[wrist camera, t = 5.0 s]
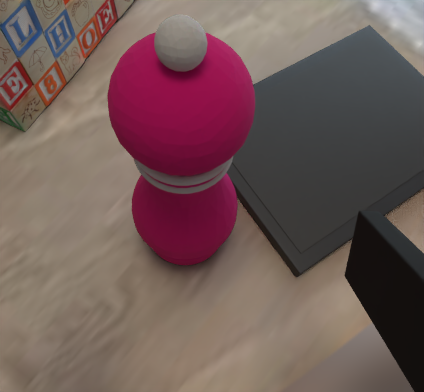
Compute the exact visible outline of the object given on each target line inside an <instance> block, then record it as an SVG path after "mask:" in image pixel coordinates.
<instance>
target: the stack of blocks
mask: <svg viewBox="0 0 424 392" xmlns="http://www.w3.org/2000/svg"><path fill="white" fill-rule="evenodd" d="M133 1H134V0H0V120H2V121H4V122H6V123H8V124H10V125H12V126H14V127H16V128H18V129H20V130H22V131H26V130H27V129H28V128H29V127H30V126H31V124H32V123H33V122H34V121H35V120H36V119H37V117H38V116H39V115H40V114H41V113H42V111H43V110H44V109H45V107H47V106H48V105H49V104H50V103H51V102H52V101H53V99H54V98H55V97H56V96H57V95H58V93H59V92H60V91H61V90H62V88H63V87H64V86H65V85H66V83H67V82H68V81H69V80H70V79H71V78H72V77H73V75H74V74H75V73H76V72H77V71H78V69H79V68H80V67H81V66H82V64H83V63H84V62H85V59H86V58H87V57H88V55H89V54H90V53H91V51H92V50H93V49H94V48H95V47H96V46H97V44H98V43H99V42H100V41H101V38H103V36H104V35H105V34H106V33H107V32H108V30H109V29H110V28H111V27H112V26H113V24H114V23H115V22H116V20H117V19H119V18H120V17H121V16H122V15H123V13H124V12H125V11H126V10H127V9H128V7H129V6H130V5H131V4H132V3H133Z"/></svg>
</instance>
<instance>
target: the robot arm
mask: <svg viewBox="0 0 424 392" xmlns="http://www.w3.org/2000/svg"><path fill="white" fill-rule="evenodd" d="M345 277H346V279H347V281H348V282H349V284H350V286H351V287H352V289H353V291H354V292H355V294H356V296H357V297H358V299H359V301H360V302H361V304H362V306H363V307H364V309H365V311H366V312H367V314H368V316H369V317H370V319H371V320H372V322H373V324H374V325H375V327H376V329H377V330H378V332H379V334H380V335H381V337H382V339H383V340H384V342H385V343H386V345H387V347H388V349H389V350H390V352H391V354H392V355H393V357H394V358H395V360H396V362H397V363H398V365H399V367H400V368H401V370H402V372H403V373H404V375H405V377H406V378H407V380H408V381H409V383H410V385H411V387H412V388H413V390H414V392H424V253H422V252H421V251H420V250H419V249H418V248H417V247H416V246H415V245H414V244H413V243H412V242H411V241H410V240H409V239H408V238H407V237H406V236H405V235H404V234H403V233H401V232H400V231H399V230H398V229H397V228H396V227H395V226H394V225H393V224H392V223H391V222H390V221H389V220H388V219H387V218H386V217H385V216H384V215H383V214H382V213H380V212H375V211H359V212H358V217H357V221H356V226H355V230H354V235H353V239H352V244H351V248H350V253H349V258H348V262H347V267H346V271H345Z"/></svg>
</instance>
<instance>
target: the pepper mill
mask: <svg viewBox="0 0 424 392" xmlns="http://www.w3.org/2000/svg"><path fill="white" fill-rule="evenodd" d="M108 108H109V117H110V121H111V124H112V127H113V129H114V132H115V134H116V136H117V138H118V140H119V142H120V144H121V145H122V146H123V147H124V148H125V149H126V150H127V151H128V153H129V154H130V155H131V156H132V157H133V158H134V161H135V164H136V166H137V168H138V170H139V171H140V173H141V174H142V175H141V176H140V178H139V180H138V182H137V184H136V187H135V189H134V193H133V197H132V214H133V219H134V223H135V226H136V229H137V231H138V233H139V234H140V236H141V237H142V239H143V240H144V241H145V242H146V243H147V244H148V245H149V246H150V247H151V248H152V249H153V250H154V251H155V252H156V253H157V254H158V255H159V256H160V257H161V258H163V259H164V260H166V261H168V262H170V263H173V264H178V265H193V264H197V263H200V262H202V261H204V260H206V259H208V258H209V257H210V256H211V255H213V254H214V253H215V252H216V251H217V249H218V248H219V247H220V245H221V244H223V243H224V242H225V240H226V239H227V238H228V236H229V235H230V233H231V231H232V229H233V227H234V224H235V221H236V215H237V206H238V203H237V195H236V191H235V188H234V186H233V183H232V181H231V179H230V177H229V176H228V174H227V173H226V172H227V171H228V169H229V167H230V165H231V163H232V159H233V155H234V154H235V153H236V152H237V151H238V150H239V149H240V148H241V147H242V146H243V144H244V142H245V140H246V138H247V136H248V134H249V131H250V129H251V126H252V123H253V119H254V112H255V91H254V87H253V83H252V79H251V76H250V74H249V72H248V70H247V68H246V66H245V65H244V63H243V61H242V59H241V58H240V57H239V55H238V54H237V53H236V52H235V51H234V50H233V49H232V48H231V47H230V46H228V45H227V44H226V43H224V42H223V41H221V40H219V39H218V38H216V37H214V36H212V35H210V34H208V33H205V31H204V29H203V28H202V26H201V25H200V24H199V23H198V22H197V21H196V20H194V19H193V18H191V17H190V16H186V15H174V16H171V17H169V18H167V19H165V20H164V21H163V22H162V23H161V24H160V25H159V27H158V29H157V31H156V33H153V34H150V35H148V36H146V37H144V38H143V39H141V40H139V41H138V42H136V43H135V44H134V45H133V46H131V47H130V48H129V49H128V50H127V51H126V52H125V54H124V55H123V56H122V57H121V58H120V60H119V62H118V64H117V66H116V68H115V70H114V72H113V74H112V75H111V80H110V85H109V90H108Z"/></svg>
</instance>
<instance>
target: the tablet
mask: <svg viewBox="0 0 424 392" xmlns="http://www.w3.org/2000/svg"><path fill="white" fill-rule="evenodd" d="M253 87H254V91H255V112H254V119H253V123H252V126H251V129H250V131H249V134H248V136H247V138H246V140H245V142H244V144H243V146H242V147H241V148H240V149H239V150H238V151H237V152H236V153H235V154H234V155H233V159H232V163H231V165H230V167H229V169H228V171H227V172H226V173H227V174H228V176H229V177H230V179H231V181H232V183H233V186H234V188H235V191H236V195H237V197H238V198H239V200H240V201H241V202H242V204H243V205H244V206H245V208H246V209H247V211H248V212H249V213H250V215H251V216H252V217H253V219H254V220H255V221H256V223H257V224H258V226H259V227H260V228H261V230H262V231H263V232H264V234H265V235H266V236H267V238H268V239H269V241H270V242H271V243H272V245H273V246H274V247H275V249H276V250H277V251H278V253H279V254H280V256H281V257H282V258H283V260H284V261H285V262H286V264H287V265H288V266H289V268H290V269H291V271H292V272H293V273H294V275H295V276H296V277H298V276H299V275H300V274H302V273H303V272H305V271H306V270H308V269H309V268H310V267H312V266H313V265H315V264H316V263H318V262H319V261H320V260H322V259H323V258H325V257H326V256H327V255H329V254H330V253H332V252H333V251H335V250H336V249H337V248H339V247H340V246H342V245H343V244H345V243H346V242H347V241H349V240H350V239H352V238H353V235H354V230H355V226H356V221H357V217H358V212H359V211H375V212H380V213H382V214H383V215H386V214H387V213H389V212H390V211H392V210H393V209H394V208H396V207H397V206H399V205H400V204H402V203H403V202H404V201H406V200H407V199H409V198H410V197H411V196H413V195H414V194H416V193H417V192H419V191H420V190H421V189H423V188H424V76H423V75H422V74H421V73H420V72H418V71H417V70H416V69H415V68H414V67H413V66H412V65H411V64H410V63H409V62H408V61H407V60H406V59H405V58H404V57H403V56H402V55H401V54H399V53H398V52H397V51H396V50H395V49H394V48H393V47H392V46H391V45H390V44H389V43H388V42H387V41H386V40H385V39H384V38H383V37H382V36H380V35H379V34H378V33H377V32H376V31H375V30H374V29H373V28H372V27H371V26H370V25H369V26H367V27H365V28H363V29H361V30H359V31H357V32H355V33H353V34H351V35H349V36H348V37H346V38H344V39H342V40H340V41H338V42H336V43H334V44H332V45H330V46H328V47H326V48H324V49H322V50H320V51H318V52H316V53H314V54H312V55H310V56H309V57H307V58H305V59H303V60H301V61H299V62H297V63H295V64H293V65H291V66H289V67H287V68H285V69H283V70H281V71H279V72H277V73H275V74H273V75H272V76H270V77H268V78H266V79H264V80H262V81H260V82H258V83H256V84H254V85H253Z"/></svg>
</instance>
